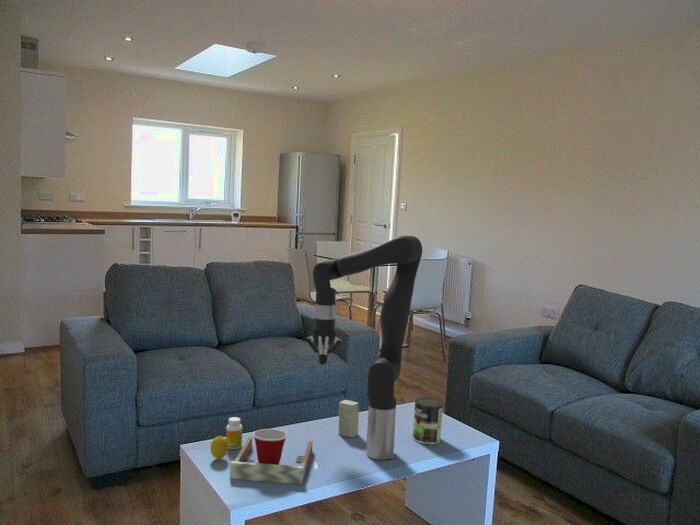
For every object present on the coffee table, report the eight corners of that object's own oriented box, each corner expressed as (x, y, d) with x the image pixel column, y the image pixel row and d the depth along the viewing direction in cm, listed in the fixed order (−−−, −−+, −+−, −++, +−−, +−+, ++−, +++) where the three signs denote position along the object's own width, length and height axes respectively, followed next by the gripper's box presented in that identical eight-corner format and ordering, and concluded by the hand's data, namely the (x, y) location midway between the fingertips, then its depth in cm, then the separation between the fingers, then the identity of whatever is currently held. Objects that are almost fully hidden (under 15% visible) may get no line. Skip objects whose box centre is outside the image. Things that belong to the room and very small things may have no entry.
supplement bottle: (238, 450, 204) (239, 422, 203) (223, 448, 205) (224, 420, 204) (244, 444, 209) (245, 417, 208) (229, 442, 210) (230, 415, 209)
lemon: (212, 464, 192) (213, 440, 191) (208, 457, 197) (209, 433, 196) (229, 461, 195) (230, 437, 194) (225, 454, 200) (225, 431, 199)
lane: (312, 451, 206) (312, 437, 205) (301, 484, 182) (302, 468, 181) (248, 446, 207) (248, 432, 206) (229, 478, 183) (230, 462, 182)
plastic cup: (291, 465, 194) (292, 429, 193) (278, 479, 184) (279, 441, 183) (260, 460, 197) (261, 424, 196) (245, 473, 187) (247, 436, 185)
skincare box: (358, 434, 222) (360, 402, 221) (352, 438, 219) (353, 405, 218) (343, 430, 226) (345, 398, 225) (337, 434, 222) (338, 401, 221)
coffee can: (426, 446, 214) (428, 408, 213) (406, 437, 223) (409, 400, 221) (446, 441, 221) (449, 403, 219) (427, 431, 229) (429, 395, 227)
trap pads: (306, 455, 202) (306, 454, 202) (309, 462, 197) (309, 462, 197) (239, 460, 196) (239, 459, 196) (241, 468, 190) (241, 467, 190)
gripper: (304, 317, 211) (303, 365, 213) (342, 319, 210) (340, 368, 212) (307, 313, 219) (306, 360, 220) (344, 315, 218) (342, 362, 220)
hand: (322, 364), depth 216 cm, fingers closed
